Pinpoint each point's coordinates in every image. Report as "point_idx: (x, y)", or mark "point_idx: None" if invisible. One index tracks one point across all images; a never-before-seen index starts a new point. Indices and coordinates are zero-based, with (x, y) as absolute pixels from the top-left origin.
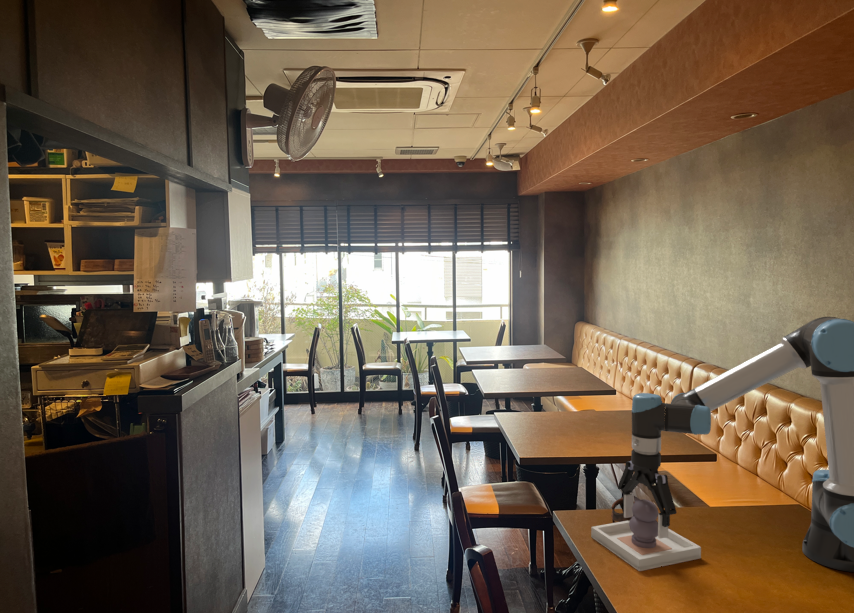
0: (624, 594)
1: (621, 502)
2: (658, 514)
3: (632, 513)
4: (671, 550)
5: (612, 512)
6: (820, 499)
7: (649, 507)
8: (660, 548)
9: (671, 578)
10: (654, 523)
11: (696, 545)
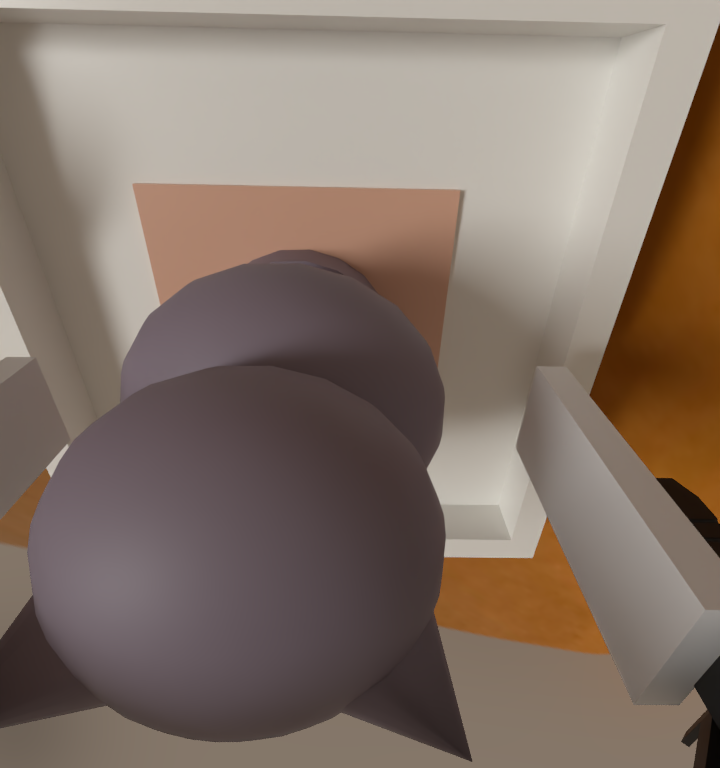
0: (594, 623)
1: None
2: (630, 684)
3: (15, 388)
4: (575, 329)
5: None
6: None
7: (458, 744)
8: (421, 285)
9: (655, 426)
10: (410, 440)
11: None
